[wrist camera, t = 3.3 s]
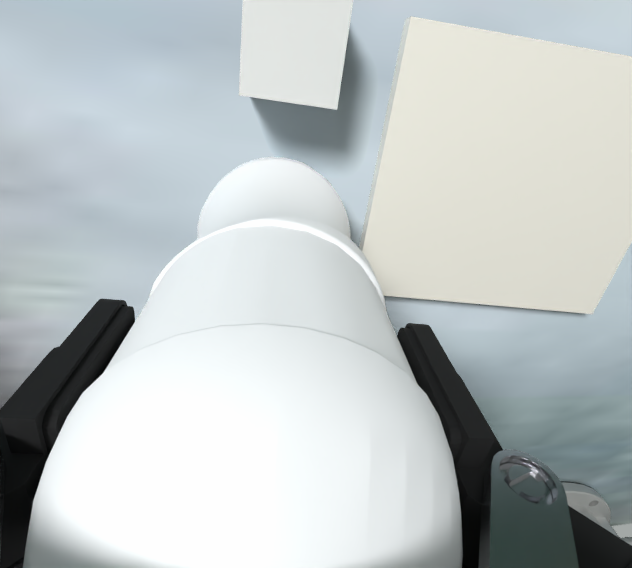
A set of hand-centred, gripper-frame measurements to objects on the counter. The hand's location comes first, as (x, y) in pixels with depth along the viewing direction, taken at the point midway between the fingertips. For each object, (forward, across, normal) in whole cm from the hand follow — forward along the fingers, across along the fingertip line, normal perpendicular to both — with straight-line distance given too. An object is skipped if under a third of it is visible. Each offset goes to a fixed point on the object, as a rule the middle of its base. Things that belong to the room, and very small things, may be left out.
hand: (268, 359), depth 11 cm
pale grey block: (+13, 0, -8) cm, 15 cm away
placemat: (+13, -13, -3) cm, 18 cm away
